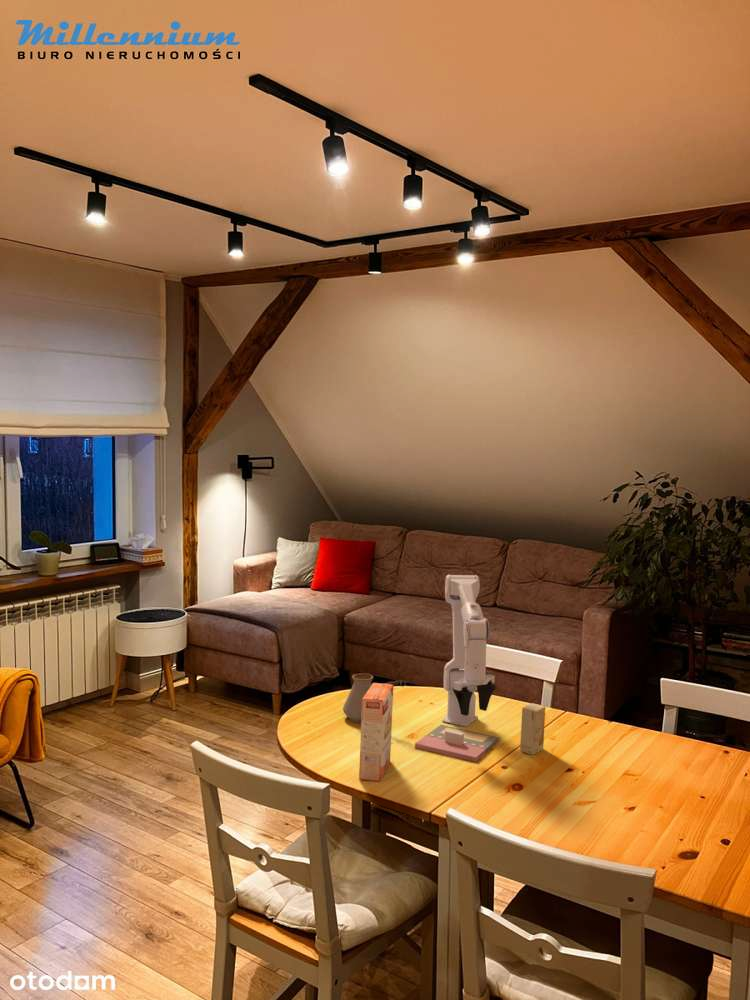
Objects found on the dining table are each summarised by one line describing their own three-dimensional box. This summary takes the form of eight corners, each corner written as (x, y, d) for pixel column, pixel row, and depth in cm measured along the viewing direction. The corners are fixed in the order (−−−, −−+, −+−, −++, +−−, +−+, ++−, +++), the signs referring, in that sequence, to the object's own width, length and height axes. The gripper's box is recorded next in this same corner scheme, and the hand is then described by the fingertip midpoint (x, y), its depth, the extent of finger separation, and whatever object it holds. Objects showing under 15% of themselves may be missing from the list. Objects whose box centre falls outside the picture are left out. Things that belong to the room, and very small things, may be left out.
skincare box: (533, 755, 222) (535, 711, 221) (519, 751, 225) (521, 708, 224) (544, 748, 227) (546, 705, 226) (530, 744, 230) (531, 702, 229)
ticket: (440, 728, 240) (440, 723, 240) (498, 741, 232) (499, 736, 232) (426, 739, 232) (426, 734, 232) (486, 753, 223) (486, 748, 223)
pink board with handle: (425, 739, 231) (426, 724, 231) (485, 753, 223) (486, 738, 222) (414, 747, 225) (415, 732, 225) (475, 761, 217) (476, 746, 216)
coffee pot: (334, 718, 247) (335, 669, 245) (359, 708, 255) (360, 661, 254) (390, 736, 233) (392, 685, 232) (414, 725, 242) (416, 676, 241)
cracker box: (381, 783, 203) (384, 700, 201) (358, 780, 204) (360, 698, 202) (392, 760, 216) (394, 683, 214) (369, 758, 217) (371, 681, 216)
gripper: (468, 669, 217) (467, 720, 217) (503, 662, 226) (502, 711, 227) (448, 664, 222) (447, 714, 222) (484, 657, 232) (482, 705, 232)
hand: (473, 712), depth 225 cm, fingers open, 7 cm apart
